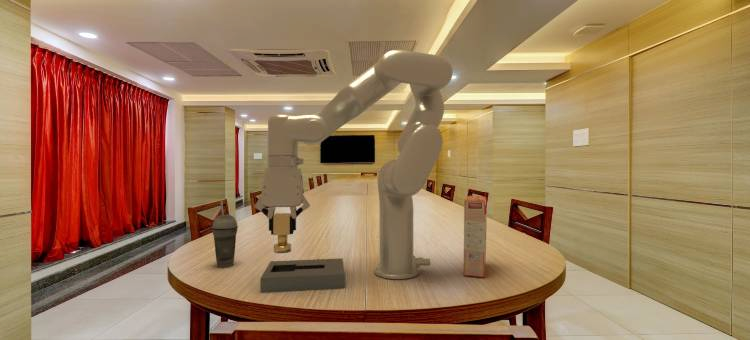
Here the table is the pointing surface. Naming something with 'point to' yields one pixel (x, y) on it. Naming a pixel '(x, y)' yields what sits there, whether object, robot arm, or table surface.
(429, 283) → the table surface
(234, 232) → the beverage cup
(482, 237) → the cracker box
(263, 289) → the keyhole plate
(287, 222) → the brass peg
